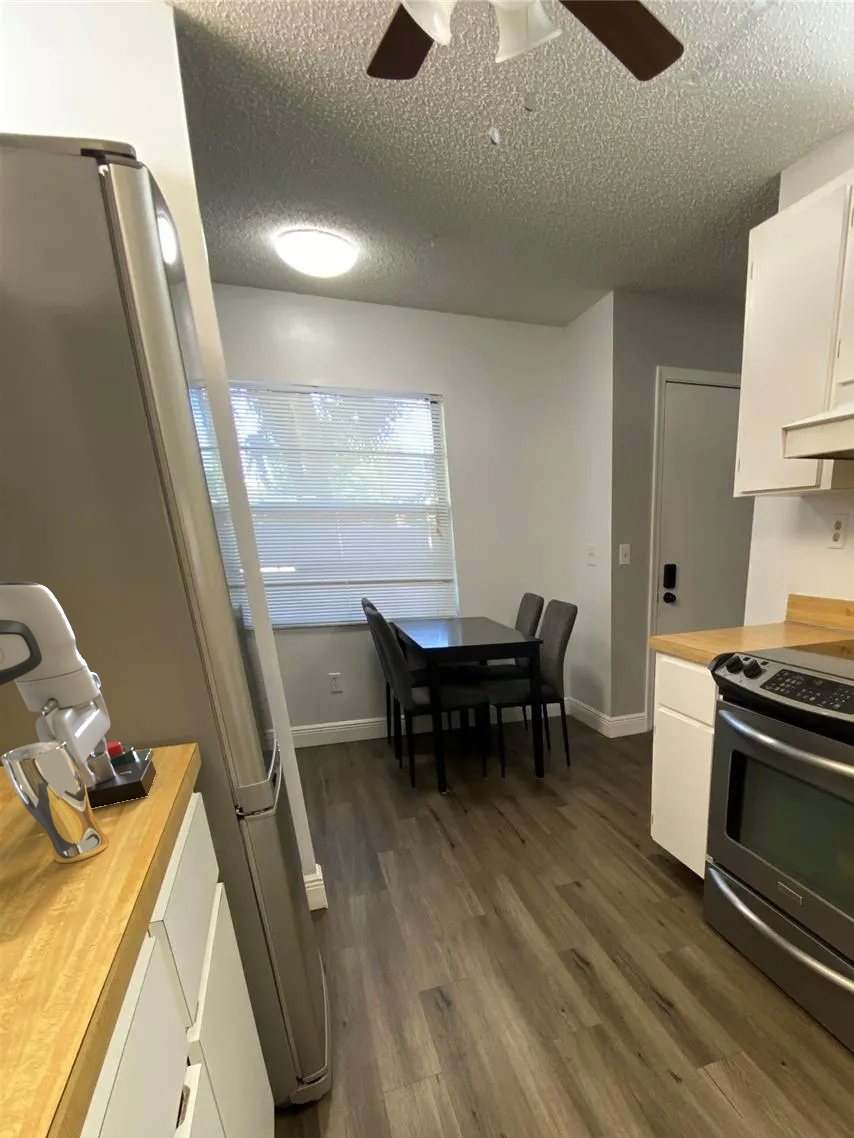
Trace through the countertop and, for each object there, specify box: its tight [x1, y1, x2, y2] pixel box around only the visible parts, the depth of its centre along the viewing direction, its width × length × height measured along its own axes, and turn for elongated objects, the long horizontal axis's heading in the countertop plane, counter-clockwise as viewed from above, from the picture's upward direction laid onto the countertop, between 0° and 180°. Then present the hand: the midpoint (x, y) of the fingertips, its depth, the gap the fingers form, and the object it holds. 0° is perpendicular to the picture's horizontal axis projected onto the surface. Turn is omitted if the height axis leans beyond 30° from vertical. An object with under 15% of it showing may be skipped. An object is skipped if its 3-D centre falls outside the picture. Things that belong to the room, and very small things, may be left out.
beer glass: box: [0, 740, 110, 864], centre depth 83 cm, size 7×7×15 cm
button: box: [106, 741, 123, 757], centre depth 109 cm, size 4×4×2 cm
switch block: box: [110, 744, 155, 767], centre depth 110 cm, size 10×8×4 cm
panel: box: [87, 759, 157, 808], centre depth 102 cm, size 13×10×3 cm
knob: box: [86, 750, 116, 784], centre depth 100 cm, size 4×4×4 cm
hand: (97, 774), depth 101 cm, fingers open, 8 cm apart
